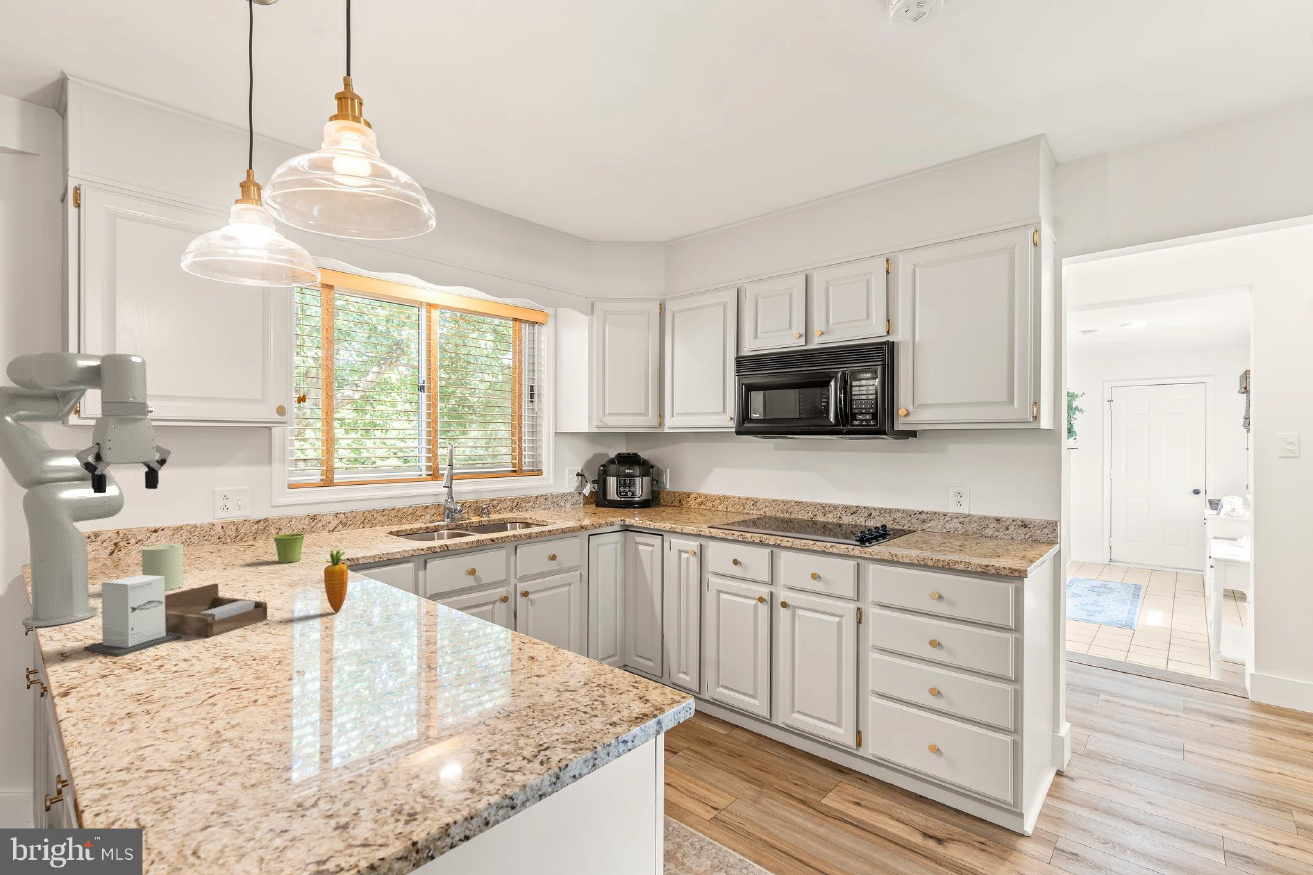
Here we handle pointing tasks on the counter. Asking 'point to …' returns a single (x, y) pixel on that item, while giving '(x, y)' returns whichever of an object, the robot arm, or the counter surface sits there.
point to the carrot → (336, 581)
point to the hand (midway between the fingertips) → (126, 490)
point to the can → (164, 563)
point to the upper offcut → (229, 609)
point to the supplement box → (133, 610)
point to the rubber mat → (122, 651)
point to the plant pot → (289, 547)
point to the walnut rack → (190, 603)
